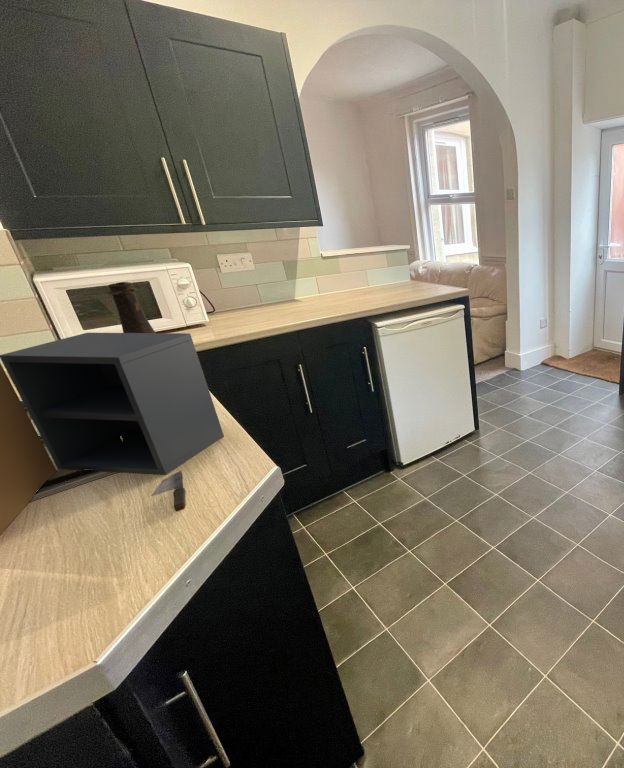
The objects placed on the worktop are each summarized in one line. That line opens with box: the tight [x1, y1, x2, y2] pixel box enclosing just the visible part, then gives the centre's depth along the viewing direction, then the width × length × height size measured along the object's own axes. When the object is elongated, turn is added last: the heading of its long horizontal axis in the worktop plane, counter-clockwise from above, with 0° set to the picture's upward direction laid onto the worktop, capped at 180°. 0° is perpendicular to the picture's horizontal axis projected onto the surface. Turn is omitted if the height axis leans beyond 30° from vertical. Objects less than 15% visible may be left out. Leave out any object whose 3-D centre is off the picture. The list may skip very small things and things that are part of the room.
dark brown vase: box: [106, 281, 157, 333], centre depth 111 cm, size 18×18×28 cm
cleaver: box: [150, 470, 186, 512], centre depth 71 cm, size 16×1×5 cm
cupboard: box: [0, 332, 225, 476], centre depth 78 cm, size 14×22×22 cm, turn 83°
